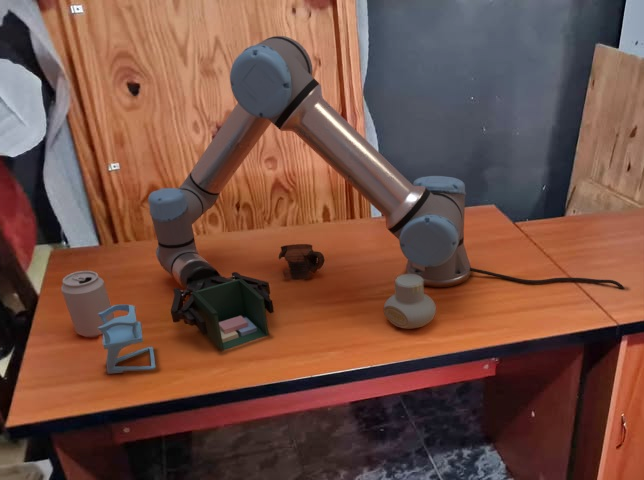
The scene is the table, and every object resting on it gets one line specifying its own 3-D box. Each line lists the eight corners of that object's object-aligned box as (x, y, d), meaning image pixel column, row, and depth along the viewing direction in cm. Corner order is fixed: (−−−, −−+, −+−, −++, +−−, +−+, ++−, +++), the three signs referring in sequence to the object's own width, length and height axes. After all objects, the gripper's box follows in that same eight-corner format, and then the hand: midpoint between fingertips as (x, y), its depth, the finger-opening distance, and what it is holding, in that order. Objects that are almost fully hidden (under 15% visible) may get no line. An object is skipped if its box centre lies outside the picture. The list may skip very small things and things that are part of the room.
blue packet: (231, 326, 139) (230, 322, 139) (247, 321, 141) (246, 317, 141) (241, 336, 136) (240, 332, 136) (257, 331, 138) (256, 327, 137)
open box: (200, 331, 139) (191, 292, 134) (247, 316, 144) (241, 278, 139) (221, 353, 132) (213, 313, 127) (270, 337, 137) (264, 298, 132)
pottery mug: (272, 282, 158) (268, 246, 157) (295, 282, 167) (291, 248, 166) (317, 277, 154) (313, 240, 153) (338, 278, 163) (334, 243, 162)
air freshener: (378, 320, 144) (375, 277, 139) (405, 305, 149) (404, 264, 144) (415, 338, 138) (414, 295, 133) (442, 323, 144) (442, 281, 138)
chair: (106, 359, 129) (89, 304, 123) (153, 350, 132) (138, 295, 126) (107, 381, 124) (89, 324, 117) (156, 371, 127) (141, 315, 120)
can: (101, 341, 134) (84, 288, 127) (68, 336, 135) (49, 283, 129) (124, 322, 140) (109, 270, 134) (92, 318, 141) (75, 266, 135)
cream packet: (212, 332, 137) (211, 328, 137) (228, 327, 139) (227, 323, 138) (222, 343, 134) (221, 339, 133) (238, 337, 136) (238, 333, 135)
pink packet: (224, 334, 135) (223, 329, 134) (217, 327, 137) (217, 322, 136) (248, 326, 138) (247, 322, 137) (241, 319, 140) (240, 315, 139)
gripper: (254, 276, 154) (299, 314, 141) (141, 309, 141) (178, 354, 127) (249, 246, 150) (295, 282, 137) (132, 276, 137) (170, 320, 123)
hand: (238, 317), depth 132 cm, fingers open, 13 cm apart
